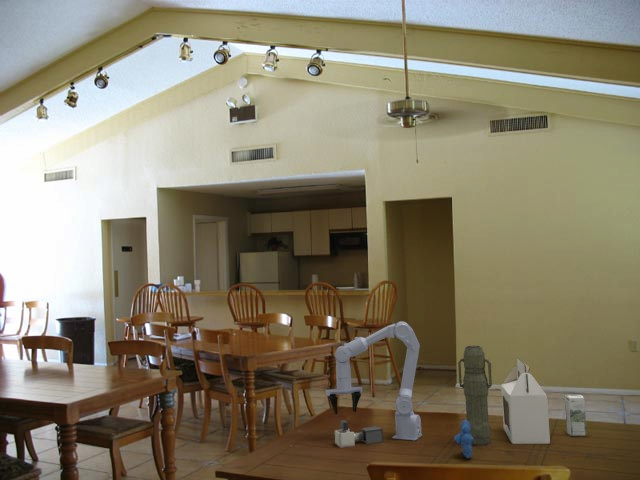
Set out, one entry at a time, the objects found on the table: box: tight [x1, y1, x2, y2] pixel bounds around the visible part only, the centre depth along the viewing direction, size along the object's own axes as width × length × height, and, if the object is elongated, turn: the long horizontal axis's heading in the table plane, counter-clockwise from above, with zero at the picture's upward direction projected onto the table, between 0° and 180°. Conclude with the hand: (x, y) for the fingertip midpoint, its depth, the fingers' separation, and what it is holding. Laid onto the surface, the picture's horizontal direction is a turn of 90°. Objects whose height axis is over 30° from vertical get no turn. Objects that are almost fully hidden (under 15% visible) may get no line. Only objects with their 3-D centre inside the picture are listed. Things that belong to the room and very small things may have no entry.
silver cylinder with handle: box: [339, 419, 364, 442], centre depth 238 cm, size 9×4×8 cm, turn 106°
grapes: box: [453, 419, 474, 459], centre depth 216 cm, size 12×7×12 cm, turn 170°
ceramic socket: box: [334, 428, 356, 448], centre depth 237 cm, size 6×6×5 cm
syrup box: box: [564, 394, 588, 437], centre depth 237 cm, size 6×6×14 cm
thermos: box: [457, 345, 493, 446], centre depth 233 cm, size 9×12×35 cm
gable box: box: [500, 358, 551, 445], centre depth 238 cm, size 22×13×28 cm, turn 172°
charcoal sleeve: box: [361, 425, 384, 445], centre depth 240 cm, size 6×5×5 cm
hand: (345, 412), depth 246 cm, fingers open, 7 cm apart
